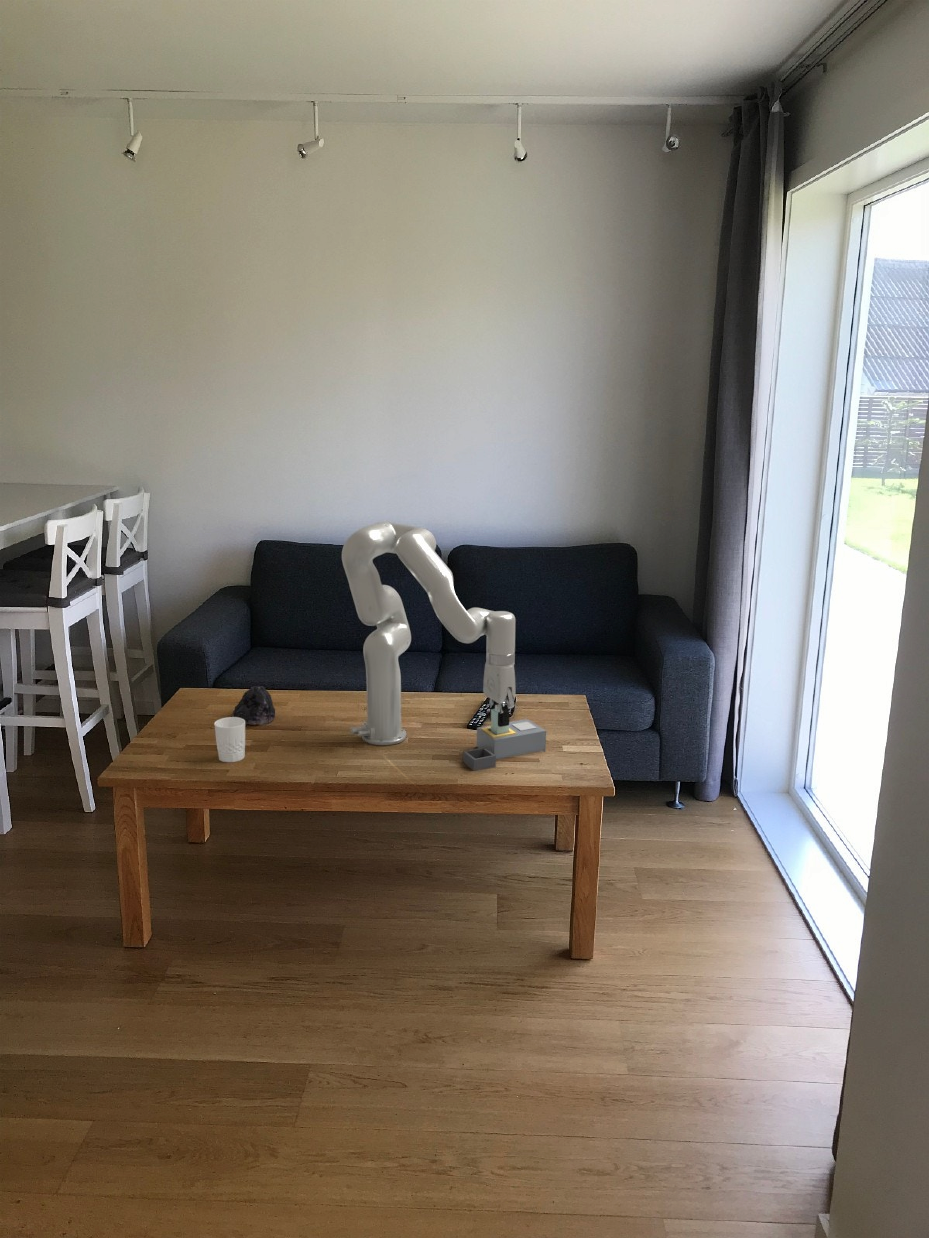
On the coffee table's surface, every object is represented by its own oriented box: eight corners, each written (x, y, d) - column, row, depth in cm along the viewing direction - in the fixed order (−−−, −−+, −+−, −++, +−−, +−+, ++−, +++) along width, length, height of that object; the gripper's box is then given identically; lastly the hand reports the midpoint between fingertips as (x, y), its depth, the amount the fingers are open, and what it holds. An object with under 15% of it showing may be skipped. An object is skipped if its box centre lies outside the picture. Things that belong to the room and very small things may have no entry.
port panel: (494, 761, 246) (494, 739, 244) (476, 748, 254) (476, 726, 253) (545, 751, 253) (546, 729, 251) (526, 738, 261) (527, 717, 260)
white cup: (231, 765, 240) (229, 729, 238) (210, 759, 245) (207, 723, 242) (253, 755, 247) (251, 720, 244) (231, 749, 251) (230, 714, 248)
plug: (497, 741, 248) (497, 708, 246) (490, 737, 251) (491, 704, 249) (508, 739, 250) (509, 706, 247) (502, 734, 253) (502, 702, 251)
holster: (473, 772, 238) (474, 760, 237) (462, 763, 244) (462, 751, 243) (495, 768, 241) (496, 755, 240) (484, 759, 247) (484, 747, 246)
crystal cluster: (249, 732, 265) (252, 700, 263) (220, 717, 273) (223, 685, 271) (285, 723, 275) (288, 692, 273) (257, 709, 283) (260, 678, 281)
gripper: (473, 651, 250) (473, 715, 255) (503, 668, 236) (502, 735, 241) (497, 648, 254) (496, 711, 258) (528, 664, 239) (527, 731, 244)
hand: (499, 722), depth 249 cm, fingers closed on plug, 3 cm apart
